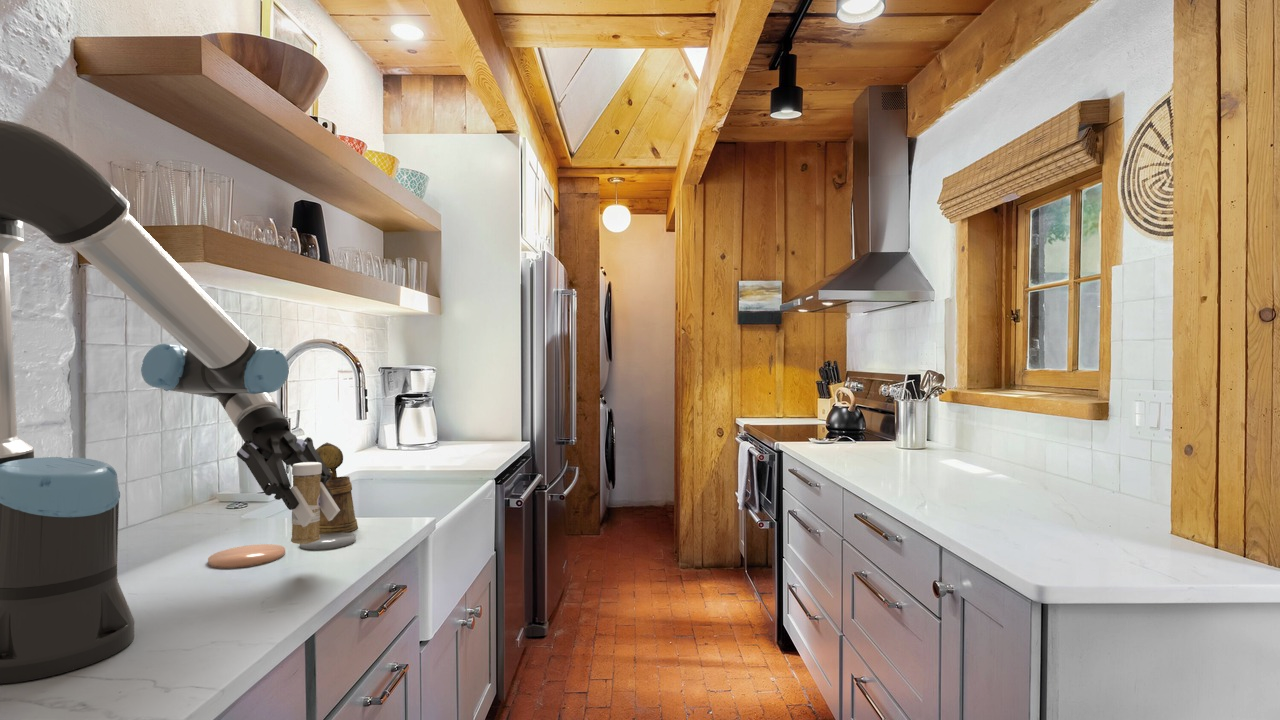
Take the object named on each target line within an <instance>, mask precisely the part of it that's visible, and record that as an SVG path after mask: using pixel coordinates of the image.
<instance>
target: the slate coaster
mask: <svg viewBox="0 0 1280 720" xmlns="http://www.w3.org/2000/svg"><path fill="white" fill-rule="evenodd" d="M319 535H320V539H319V540H317V541H315V542H311V543H307V544H299V548H300V549H303V550H307V551H326V550H327V551H328V550H334V549H339V548H340V549H341V548H344V547H347V546H350V545H352V544H354V543H355V542H356V540H357V539H356V538H357V536H356V534H355V533H351V532H334V533H324V534H319Z"/></svg>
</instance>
